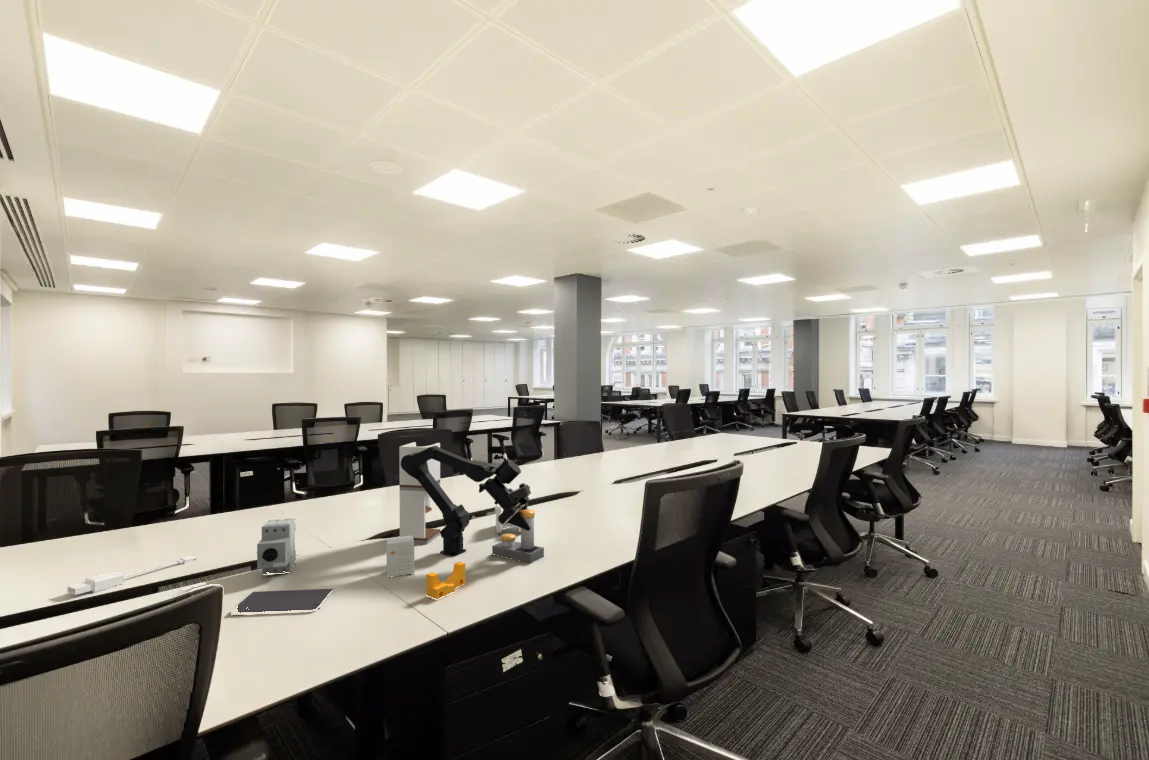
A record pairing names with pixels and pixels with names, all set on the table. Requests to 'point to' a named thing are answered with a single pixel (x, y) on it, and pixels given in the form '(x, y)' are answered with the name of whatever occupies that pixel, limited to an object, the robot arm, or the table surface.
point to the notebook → (283, 600)
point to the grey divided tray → (516, 550)
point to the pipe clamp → (445, 582)
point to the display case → (416, 499)
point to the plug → (528, 536)
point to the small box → (400, 556)
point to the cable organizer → (500, 526)
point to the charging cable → (113, 579)
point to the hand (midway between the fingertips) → (531, 527)
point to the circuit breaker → (277, 546)
